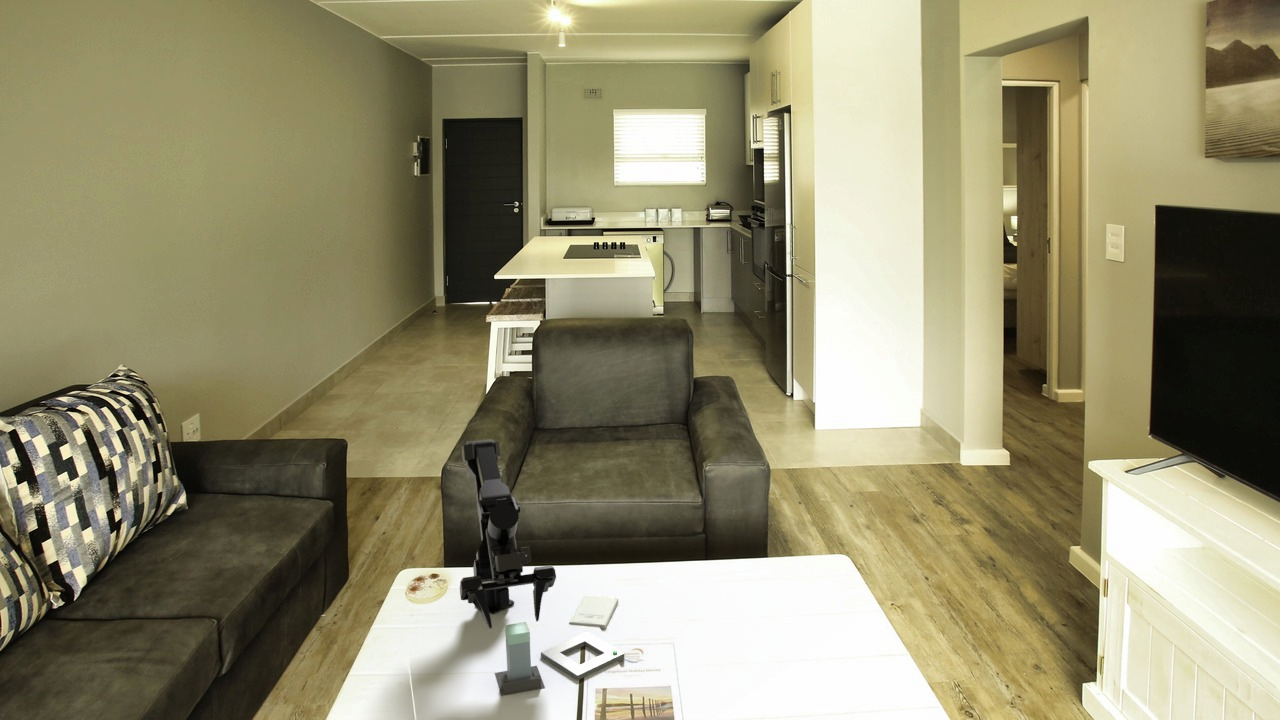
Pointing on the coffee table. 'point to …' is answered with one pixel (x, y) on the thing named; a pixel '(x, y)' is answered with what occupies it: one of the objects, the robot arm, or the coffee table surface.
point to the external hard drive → (594, 611)
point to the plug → (518, 651)
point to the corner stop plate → (519, 682)
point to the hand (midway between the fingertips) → (514, 624)
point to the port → (580, 671)
